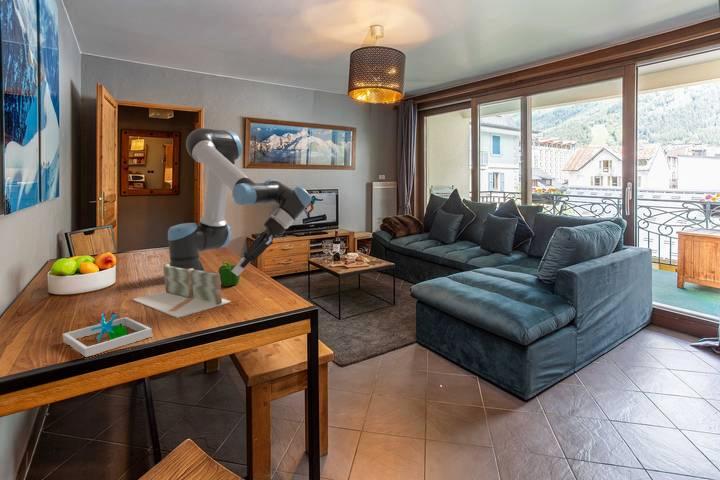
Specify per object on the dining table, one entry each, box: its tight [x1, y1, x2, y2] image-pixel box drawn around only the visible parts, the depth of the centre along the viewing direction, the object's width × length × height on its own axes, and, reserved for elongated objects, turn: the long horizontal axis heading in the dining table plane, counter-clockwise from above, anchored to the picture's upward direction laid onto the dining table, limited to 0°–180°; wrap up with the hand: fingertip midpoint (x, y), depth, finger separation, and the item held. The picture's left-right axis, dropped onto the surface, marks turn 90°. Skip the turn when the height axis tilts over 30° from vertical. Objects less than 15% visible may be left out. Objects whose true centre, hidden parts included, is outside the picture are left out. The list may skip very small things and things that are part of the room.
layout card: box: [132, 290, 231, 319], centre depth 136 cm, size 31×19×1 cm, turn 53°
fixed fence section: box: [163, 263, 194, 298], centre depth 142 cm, size 17×2×10 cm, turn 58°
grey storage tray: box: [62, 316, 153, 357], centre depth 103 cm, size 16×16×2 cm
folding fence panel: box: [191, 270, 223, 304], centre depth 133 cm, size 14×2×10 cm, turn 58°
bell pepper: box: [218, 261, 241, 287], centre depth 156 cm, size 8×8×10 cm
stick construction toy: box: [90, 312, 129, 341], centre depth 105 cm, size 12×7×8 cm
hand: (234, 273), depth 135 cm, fingers closed
